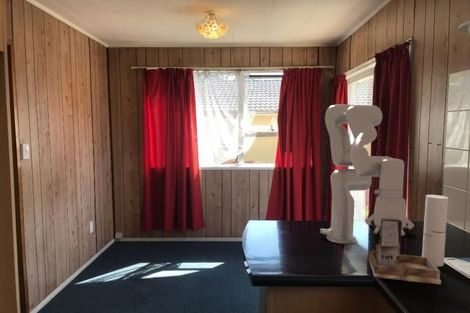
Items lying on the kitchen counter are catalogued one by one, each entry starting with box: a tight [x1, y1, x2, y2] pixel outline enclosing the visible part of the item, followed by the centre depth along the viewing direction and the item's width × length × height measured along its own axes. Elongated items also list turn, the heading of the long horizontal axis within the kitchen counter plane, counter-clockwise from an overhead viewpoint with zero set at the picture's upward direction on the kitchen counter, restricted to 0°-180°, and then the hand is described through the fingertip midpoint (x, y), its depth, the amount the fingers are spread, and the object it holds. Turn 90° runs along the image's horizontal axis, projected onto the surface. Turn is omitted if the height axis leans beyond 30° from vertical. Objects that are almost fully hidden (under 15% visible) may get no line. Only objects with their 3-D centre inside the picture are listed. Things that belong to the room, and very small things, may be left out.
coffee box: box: [375, 220, 403, 268], centre depth 124 cm, size 9×6×16 cm
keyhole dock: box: [368, 249, 442, 285], centre depth 124 cm, size 20×16×4 cm
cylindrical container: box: [421, 194, 449, 268], centre depth 131 cm, size 7×7×25 cm
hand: (387, 244), depth 124 cm, fingers closed on coffee box, 6 cm apart
